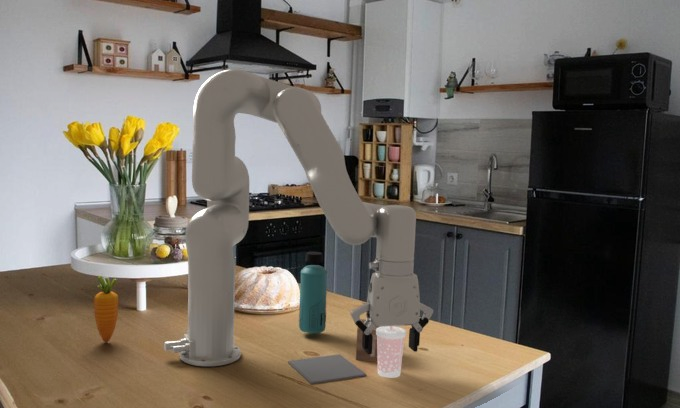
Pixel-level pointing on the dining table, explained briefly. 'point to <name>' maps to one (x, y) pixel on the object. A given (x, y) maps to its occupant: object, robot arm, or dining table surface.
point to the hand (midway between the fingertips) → (390, 350)
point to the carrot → (106, 309)
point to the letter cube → (360, 352)
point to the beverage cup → (390, 350)
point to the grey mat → (326, 369)
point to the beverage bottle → (313, 295)
